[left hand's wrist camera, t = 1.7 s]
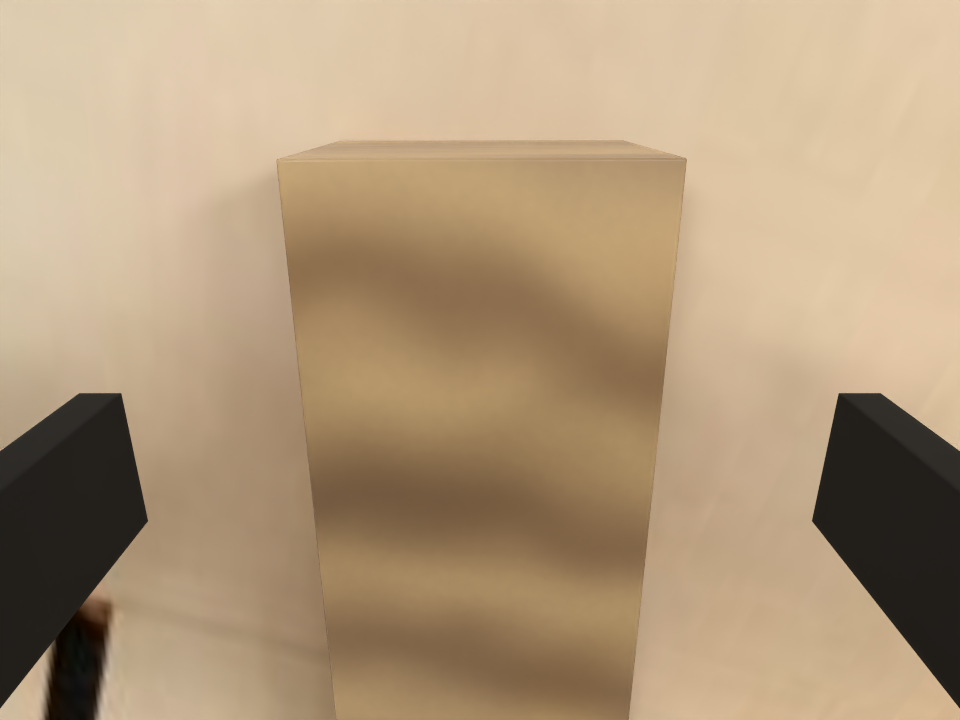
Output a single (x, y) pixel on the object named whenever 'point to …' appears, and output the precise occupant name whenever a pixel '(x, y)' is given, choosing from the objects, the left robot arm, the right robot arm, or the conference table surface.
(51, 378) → the conference table surface
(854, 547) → the left robot arm
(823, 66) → the conference table surface
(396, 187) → the thick board
